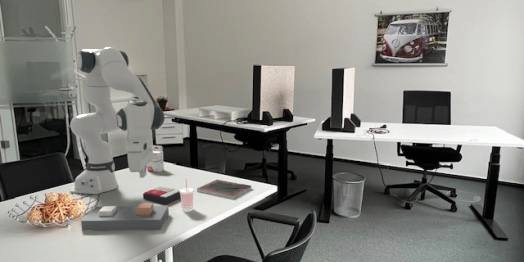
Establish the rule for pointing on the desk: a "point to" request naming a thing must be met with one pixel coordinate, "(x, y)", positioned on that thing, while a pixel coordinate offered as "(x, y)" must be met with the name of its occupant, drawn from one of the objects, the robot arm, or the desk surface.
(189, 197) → the beverage cup
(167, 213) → the console
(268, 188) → the desk surface
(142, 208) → the key terracotta
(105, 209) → the key white
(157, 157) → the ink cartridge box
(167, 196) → the calculator
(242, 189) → the picture frame
